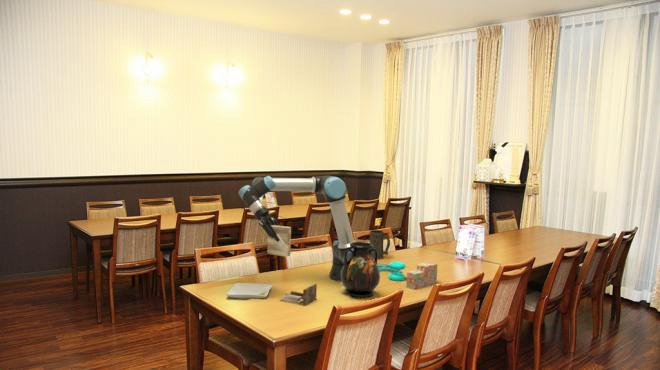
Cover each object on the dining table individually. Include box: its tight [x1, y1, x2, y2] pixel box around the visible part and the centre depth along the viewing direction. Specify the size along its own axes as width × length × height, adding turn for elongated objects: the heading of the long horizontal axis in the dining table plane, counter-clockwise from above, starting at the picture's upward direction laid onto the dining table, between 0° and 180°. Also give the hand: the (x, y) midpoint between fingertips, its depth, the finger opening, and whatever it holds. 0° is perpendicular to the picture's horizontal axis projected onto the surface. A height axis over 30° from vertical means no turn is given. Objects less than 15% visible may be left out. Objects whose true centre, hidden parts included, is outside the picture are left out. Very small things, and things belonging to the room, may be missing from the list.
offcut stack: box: [282, 293, 303, 306], centre depth 251 cm, size 4×10×3 cm, turn 64°
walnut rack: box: [279, 283, 318, 307], centre depth 254 cm, size 12×15×9 cm
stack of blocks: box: [405, 261, 438, 291], centre depth 291 cm, size 21×6×12 cm, turn 133°
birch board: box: [266, 225, 292, 258], centre depth 260 cm, size 4×12×15 cm, turn 64°
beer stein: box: [369, 229, 391, 260], centre depth 358 cm, size 15×11×20 cm
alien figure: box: [377, 263, 403, 274], centre depth 324 cm, size 20×2×20 cm
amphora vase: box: [340, 241, 381, 299], centre depth 269 cm, size 22×22×28 cm
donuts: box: [388, 261, 406, 282], centre depth 303 cm, size 10×10×10 cm
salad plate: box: [226, 282, 274, 300], centre depth 264 cm, size 21×21×3 cm
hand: (285, 244), depth 258 cm, fingers closed on birch board, 3 cm apart
